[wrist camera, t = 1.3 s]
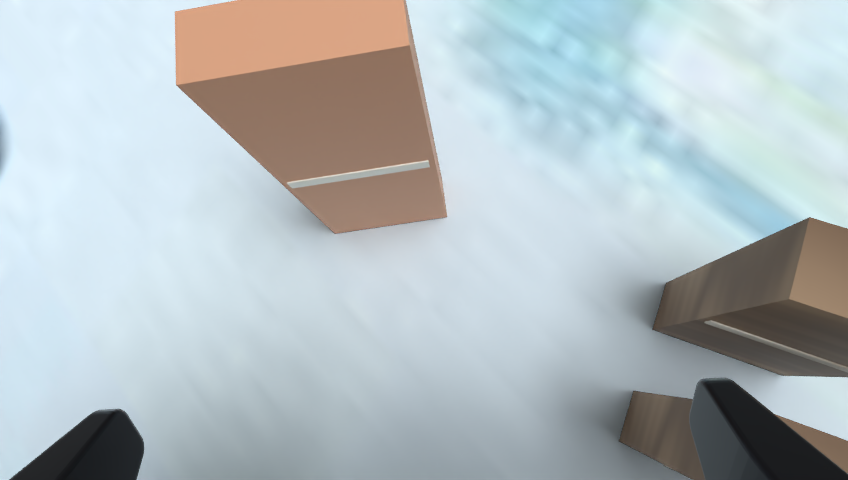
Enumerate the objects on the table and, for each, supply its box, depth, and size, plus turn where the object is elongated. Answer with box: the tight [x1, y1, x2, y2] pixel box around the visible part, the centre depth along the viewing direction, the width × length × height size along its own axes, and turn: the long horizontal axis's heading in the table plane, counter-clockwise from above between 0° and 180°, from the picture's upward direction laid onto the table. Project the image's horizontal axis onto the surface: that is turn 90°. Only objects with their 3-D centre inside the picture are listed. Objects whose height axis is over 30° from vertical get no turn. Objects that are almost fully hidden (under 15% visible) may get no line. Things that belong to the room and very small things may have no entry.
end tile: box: [175, 0, 447, 234], centre depth 18 cm, size 2×5×13 cm, turn 97°
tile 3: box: [652, 217, 848, 377], centre depth 17 cm, size 2×5×10 cm, turn 69°
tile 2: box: [619, 391, 848, 480], centre depth 16 cm, size 2×5×10 cm, turn 69°
